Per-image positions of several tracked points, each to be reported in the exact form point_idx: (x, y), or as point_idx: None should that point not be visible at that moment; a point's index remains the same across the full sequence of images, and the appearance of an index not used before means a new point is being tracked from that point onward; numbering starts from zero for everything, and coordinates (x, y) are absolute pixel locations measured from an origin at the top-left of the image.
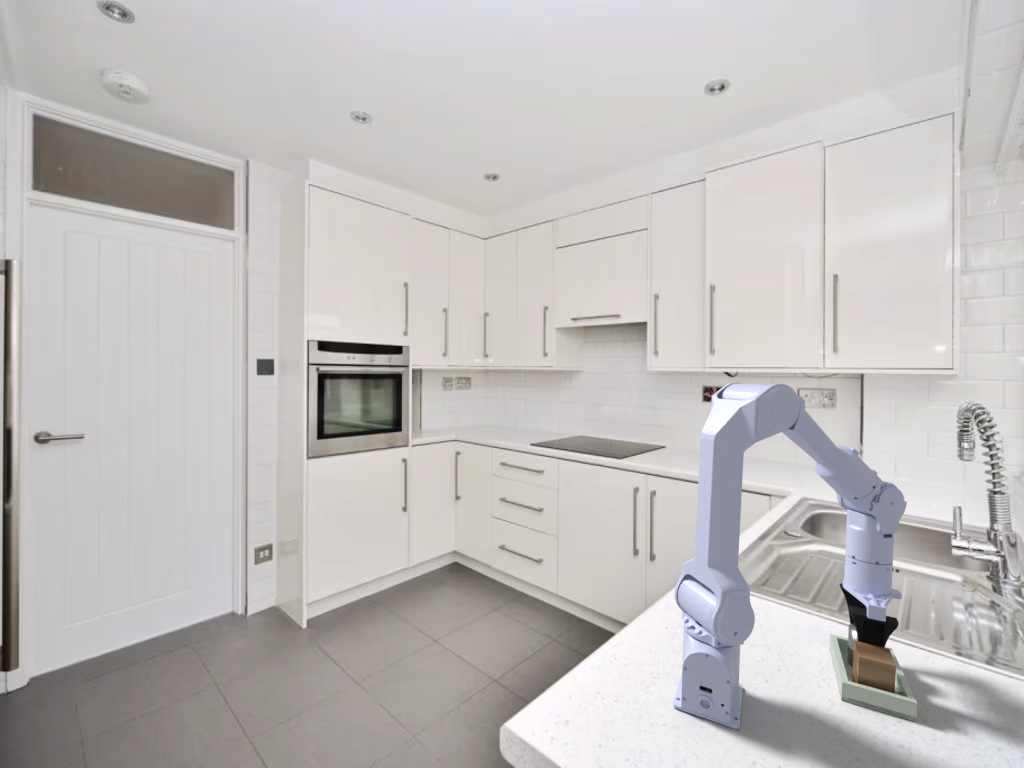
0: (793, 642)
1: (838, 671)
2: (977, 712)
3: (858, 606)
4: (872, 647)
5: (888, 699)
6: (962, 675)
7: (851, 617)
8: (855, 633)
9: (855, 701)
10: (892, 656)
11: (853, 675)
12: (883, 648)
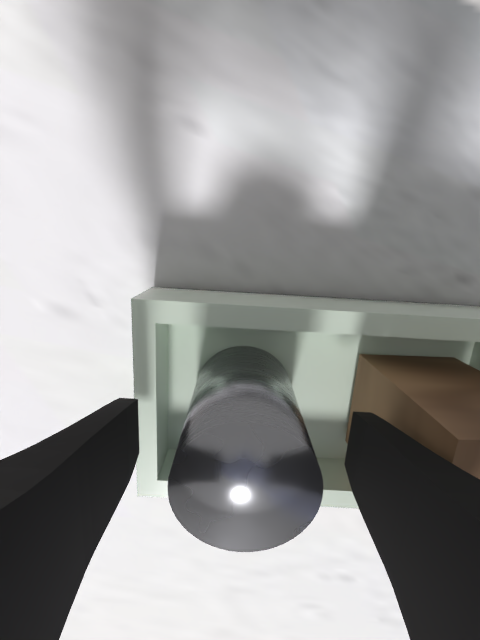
0: (164, 534)
1: None
2: (345, 77)
3: (56, 573)
4: None
5: None
6: (69, 20)
7: (104, 521)
8: (294, 530)
9: None
10: (207, 315)
11: None
12: (459, 463)
